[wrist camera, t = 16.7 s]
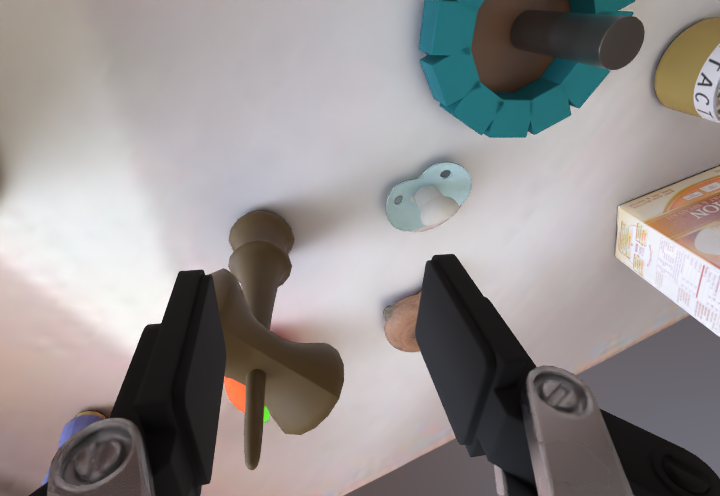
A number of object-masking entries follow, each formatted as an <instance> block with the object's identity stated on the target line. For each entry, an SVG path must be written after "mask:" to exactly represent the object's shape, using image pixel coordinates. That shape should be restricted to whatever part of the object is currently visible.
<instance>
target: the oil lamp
mask: <svg viewBox="0 0 720 496" xmlns="http://www.w3.org/2000/svg"><path fill="white" fill-rule="evenodd" d="M420 297H421V291H420V292H419V293H418V294H417V295H413V296H410V297H406V298H404V299H402V300H401V301H399V302H397V303H396V304H394V305H392V306H388V307H386V309H385V310H384V312H383V314H384V319H385V323H384V331H385V335H386V338H387V340H388V341H389V343H390V344H391V345H392V346H393V347H395V348H396V349H399V350H401V351H405V352H418V351H420V349H419V346H418V344H417V341H416V337H415V327H416V321H417V315H418V309H419V303H420Z"/></svg>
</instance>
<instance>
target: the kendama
mask: <svg viewBox="0 0 720 496" xmlns="http://www.w3.org/2000/svg"><path fill="white" fill-rule="evenodd" d="M229 242H230V244H231V247H232V249H233V251H234V252H233V254H232V255H231V256H230V260H229V266H228V267H229V269H230V271H231V272H229V271H228V270H226V269H224V268H223V269H221V270H219V271H216V272H214V273H212V274H209V275H212V277H213V281H214V286H215V292H216V297H217V302H218V308H219V313H220V319H221V324H222V329H223V335H224V340H225V346H226V366H225V374H224V376H225V377H226V378H231V379H233V380H235V381H237V382H239V383H241V384H243V385H245V386H246V392H245V424H244V453H245V463H246V466H247V468H248V469H250V470H254V469H255V468H256V467H257V465H258V462H259V459H260V452H261V444H262V433H263V418H264V404H265V405H266V407H267V409H268V411H269V412H270V414H271V416H272V417H273V419H274V420H275V422H276V423H277V424H278V426H279V427H280V428H281V430H282V431H283V432H284V433H285V434H296V435H302V434H304V433H306V432H308V431H310V430H312V429H314V428H315V427H317V426H318V425H319V424H320V423H321V422H322V421H323V420H324V419H325V418H326V417H327V416H328V415H329V414H330V412H331V411H332V409H333V407H334V406H335V404H336V403H337V401H338V400H339V397H340V394H341V390H342V386H343V382H344V364H343V362H342V359H341V357H340V354H339V352H338V351H337V350H336V349H335V348H333V347H332V346H330V345H329V344H326V343H295V342H291V341H287V340H285V339H283V338H281V337H279V336H277V335H276V334H274V333H273V332H271V331H270V324H271V318H272V312H273V306H274V301H275V297H276V292H277V288H278V287H279V286H280V285H282V284H283V283H284V282H285V281H286V280H287V278H288V277H289V276H290V272H291V268H292V265H291V262H290V259H289V256H288V255H287V254H288V253H289V252H290V251H291V249H292V246H293V243H294V237H293V233H292V230H291V228H290V227H289V225H288V224H287V223H286V222H285V221H284V220H283V219H282V218H280V217H278V216H277V215H275V214H273V213H270V212H266V211H261V210H260V211H255V212H250V213H247V214H246V215H244V216H243V217H241V218H240V219H238V220H237V222H236V223H235V224H234V226H233V227H232V228H231V231H230V236H229ZM238 281H239V282H240V283H241V286H242V289H241V287H240V285H239V282H238Z"/></svg>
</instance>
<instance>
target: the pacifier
mask: <svg viewBox="0 0 720 496" xmlns="http://www.w3.org/2000/svg"><path fill="white" fill-rule="evenodd" d="M444 170H450V172H451V173H450V175H449V176H448V177H441V176H440V174H441V172H442V171H444ZM471 186H472V181H471V177H470V175H469V173H468V172H467V171H466V170H465V169H464V168H463V167H462V166H460V165H458V164H456V163H453V162H441V163H437V164H434V165H432V166H430V167H429V168H427V169H426V170H425V171H424V172H423V173H422V175H421V176H420V177H419V178H417V179H412V180H406V181H403V182H401V183H400V184H398V185H397V186H395V187H394V189H393V190H392V191H391V192H390V194H389V196H388V199H387V202H386V214H387V217H388V220H389V222H390V223H391V225H392V226H393V227H395V228H396V229H399V230H401V231H409V232H421V231H426V230H429V229H432V228H434V227H436V226H439V225H440V224H442V223H444V222H445V221H447V220H448V219H449V218H450V217H452V216H453V215H454V214H455V213H456V212H457V211H458V209H459V208H460V206H461V204H462V203H463V202H464V201H465V200H466V199H467V197H468V196H469V193H470V190H471ZM399 195H401V196H402V201H401V202H400V203H399V204H395V203H394V201H395V198H396V197H397V196H399Z"/></svg>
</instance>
